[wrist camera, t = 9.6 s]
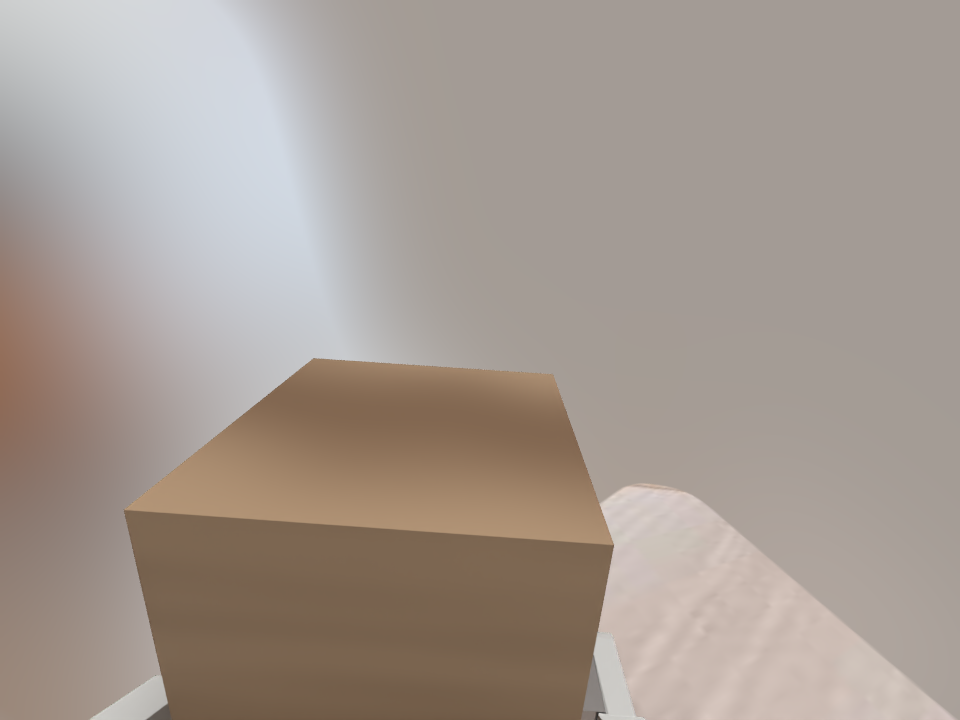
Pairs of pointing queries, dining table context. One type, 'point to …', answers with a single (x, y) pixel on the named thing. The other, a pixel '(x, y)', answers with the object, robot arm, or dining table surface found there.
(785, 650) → the dining table surface
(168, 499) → the walnut block
